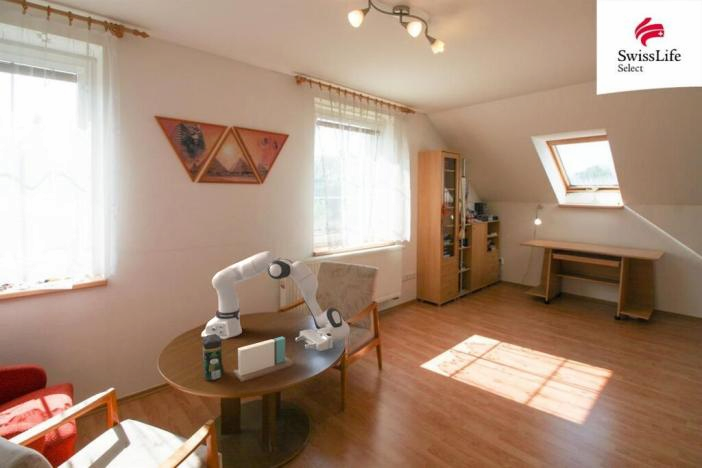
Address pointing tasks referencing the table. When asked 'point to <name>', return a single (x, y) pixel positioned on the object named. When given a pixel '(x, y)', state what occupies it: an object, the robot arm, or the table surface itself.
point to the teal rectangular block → (279, 349)
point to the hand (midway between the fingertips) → (300, 343)
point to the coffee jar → (212, 357)
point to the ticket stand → (258, 360)
